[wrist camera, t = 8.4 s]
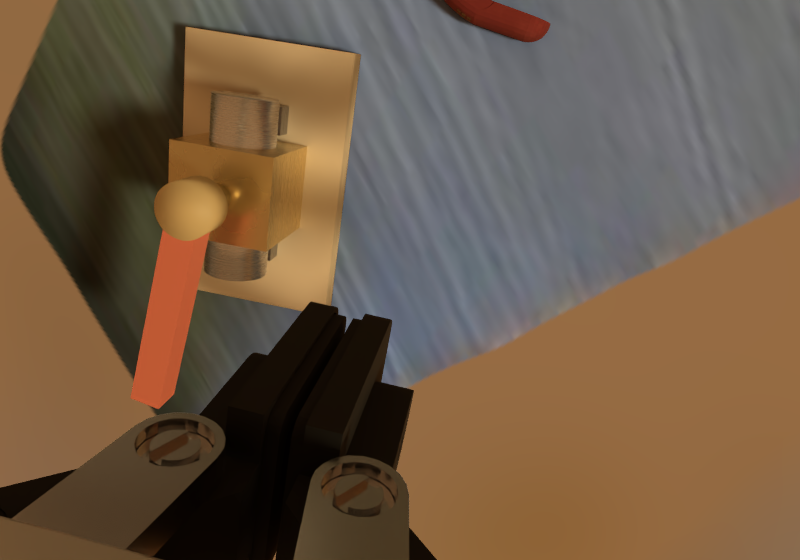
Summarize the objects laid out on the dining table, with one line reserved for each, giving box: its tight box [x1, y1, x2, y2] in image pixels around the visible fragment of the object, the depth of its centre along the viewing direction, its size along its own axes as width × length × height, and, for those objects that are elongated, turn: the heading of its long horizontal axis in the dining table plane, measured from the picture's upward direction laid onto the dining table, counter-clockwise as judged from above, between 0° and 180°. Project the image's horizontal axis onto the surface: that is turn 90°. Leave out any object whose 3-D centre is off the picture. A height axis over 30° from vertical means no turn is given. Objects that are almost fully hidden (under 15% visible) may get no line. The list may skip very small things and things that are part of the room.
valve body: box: [168, 91, 307, 281], centre depth 33 cm, size 10×6×7 cm, turn 171°
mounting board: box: [183, 27, 361, 311], centre depth 37 cm, size 16×10×2 cm, turn 171°
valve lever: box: [131, 175, 228, 409], centre depth 30 cm, size 12×3×2 cm, turn 161°
